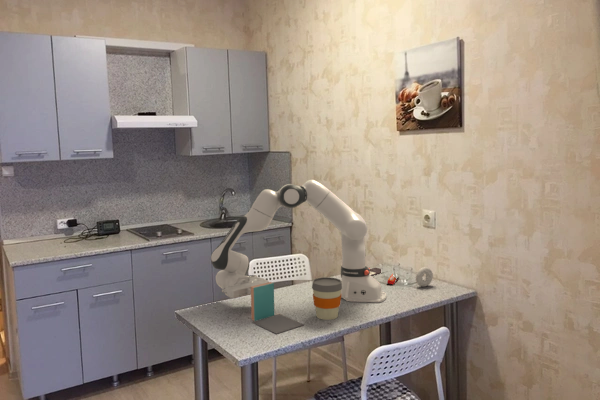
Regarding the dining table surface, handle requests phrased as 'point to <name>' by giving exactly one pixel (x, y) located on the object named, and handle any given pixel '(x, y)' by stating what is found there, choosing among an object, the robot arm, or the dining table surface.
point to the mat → (278, 323)
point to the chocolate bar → (375, 271)
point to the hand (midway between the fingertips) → (258, 292)
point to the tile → (262, 301)
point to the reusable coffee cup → (327, 297)
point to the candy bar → (391, 280)
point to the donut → (420, 274)
